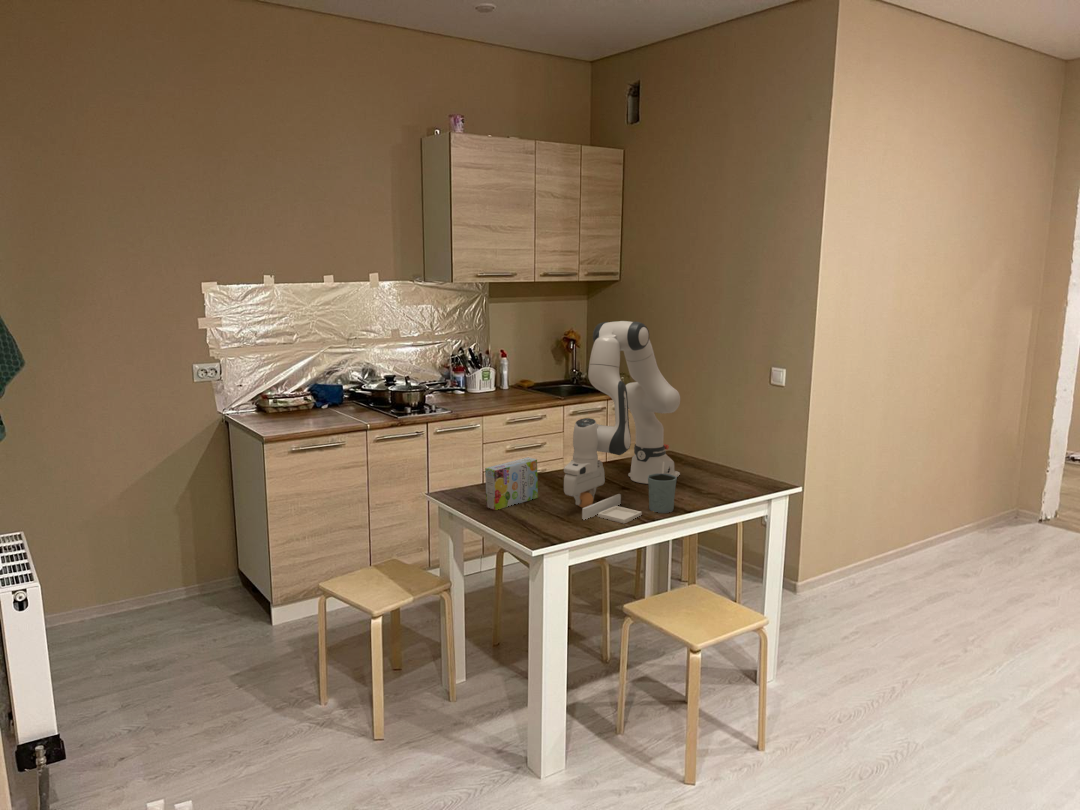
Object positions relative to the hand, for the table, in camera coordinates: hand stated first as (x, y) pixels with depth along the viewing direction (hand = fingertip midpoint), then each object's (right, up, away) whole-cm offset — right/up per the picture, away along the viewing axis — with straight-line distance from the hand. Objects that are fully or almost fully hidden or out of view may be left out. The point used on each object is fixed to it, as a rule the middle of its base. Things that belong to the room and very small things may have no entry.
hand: (584, 502), depth 289 cm
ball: (0, +1, 0) cm, 1 cm away
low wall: (+6, -3, -4) cm, 8 cm away
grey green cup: (+27, -3, -1) cm, 27 cm away
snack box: (-26, -1, +6) cm, 27 cm away
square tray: (+12, -4, -9) cm, 15 cm away
